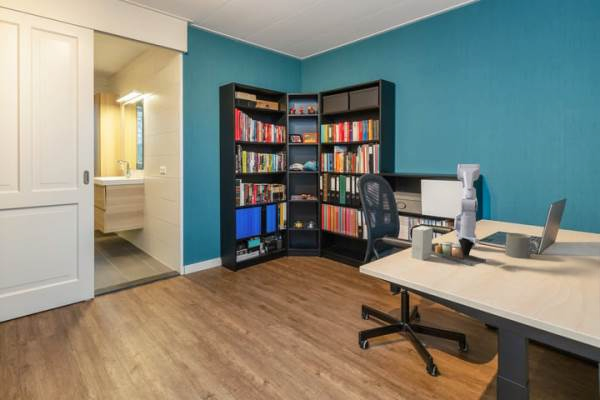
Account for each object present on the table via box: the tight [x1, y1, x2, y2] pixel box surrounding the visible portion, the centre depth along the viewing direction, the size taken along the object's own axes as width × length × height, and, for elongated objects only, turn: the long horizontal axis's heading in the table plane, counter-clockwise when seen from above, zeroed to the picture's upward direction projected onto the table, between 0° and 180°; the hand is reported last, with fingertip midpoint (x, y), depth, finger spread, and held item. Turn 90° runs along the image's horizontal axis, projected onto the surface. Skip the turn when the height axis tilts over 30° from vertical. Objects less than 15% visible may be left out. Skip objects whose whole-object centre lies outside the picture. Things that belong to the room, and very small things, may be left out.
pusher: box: [435, 242, 442, 254], centre depth 161 cm, size 8×1×5 cm, turn 119°
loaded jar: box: [441, 241, 455, 256], centre depth 158 cm, size 5×5×6 cm
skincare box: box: [410, 225, 433, 261], centre depth 154 cm, size 8×6×15 cm
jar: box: [452, 243, 464, 259], centre depth 154 cm, size 5×5×6 cm
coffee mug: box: [504, 232, 540, 260], centre depth 157 cm, size 13×10×10 cm
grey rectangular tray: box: [431, 242, 487, 267], centre depth 156 cm, size 12×26×4 cm, turn 29°
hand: (465, 255), depth 150 cm, fingers closed
